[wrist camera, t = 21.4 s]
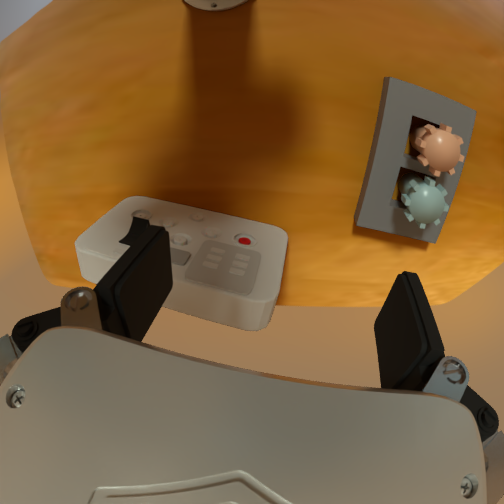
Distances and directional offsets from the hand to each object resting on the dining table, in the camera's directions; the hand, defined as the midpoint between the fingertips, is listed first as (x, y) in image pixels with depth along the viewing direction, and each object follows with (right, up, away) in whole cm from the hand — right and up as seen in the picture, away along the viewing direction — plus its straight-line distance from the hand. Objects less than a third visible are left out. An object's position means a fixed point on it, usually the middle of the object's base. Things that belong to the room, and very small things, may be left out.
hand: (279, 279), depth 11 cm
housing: (+23, +14, +25) cm, 37 cm away
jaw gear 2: (+23, +11, +27) cm, 37 cm away
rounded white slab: (-9, +6, +38) cm, 39 cm away
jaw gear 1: (+23, +17, +23) cm, 37 cm away
